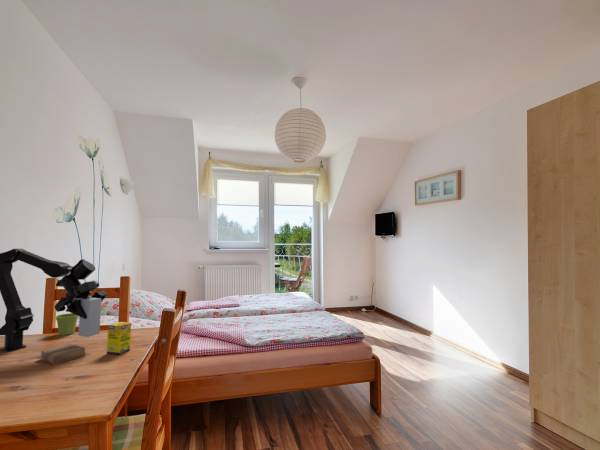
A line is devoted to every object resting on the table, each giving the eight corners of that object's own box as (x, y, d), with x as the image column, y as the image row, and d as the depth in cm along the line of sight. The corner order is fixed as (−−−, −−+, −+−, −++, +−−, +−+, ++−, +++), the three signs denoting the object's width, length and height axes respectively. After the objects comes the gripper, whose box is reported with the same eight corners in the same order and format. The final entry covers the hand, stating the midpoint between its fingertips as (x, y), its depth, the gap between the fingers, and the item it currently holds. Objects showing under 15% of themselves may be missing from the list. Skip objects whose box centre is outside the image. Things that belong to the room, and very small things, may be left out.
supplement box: (119, 355, 126) (120, 325, 127) (106, 353, 127) (107, 325, 128) (130, 350, 132) (131, 322, 132) (117, 349, 133) (118, 321, 134)
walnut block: (40, 359, 121) (41, 350, 121) (70, 351, 130) (70, 343, 130) (54, 364, 116) (55, 355, 117) (84, 355, 125) (85, 347, 125)
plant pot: (49, 337, 150) (50, 317, 151) (60, 331, 160) (61, 313, 160) (72, 335, 152) (73, 316, 153) (82, 330, 161) (82, 312, 162)
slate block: (78, 335, 130) (80, 299, 131) (89, 332, 135) (92, 297, 136) (87, 336, 128) (90, 300, 129) (99, 333, 133) (101, 298, 134)
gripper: (61, 276, 125) (81, 307, 121) (104, 272, 143) (123, 299, 139) (45, 295, 127) (65, 327, 123) (90, 289, 145) (108, 317, 141)
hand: (92, 316), depth 132 cm, fingers closed on slate block, 5 cm apart
